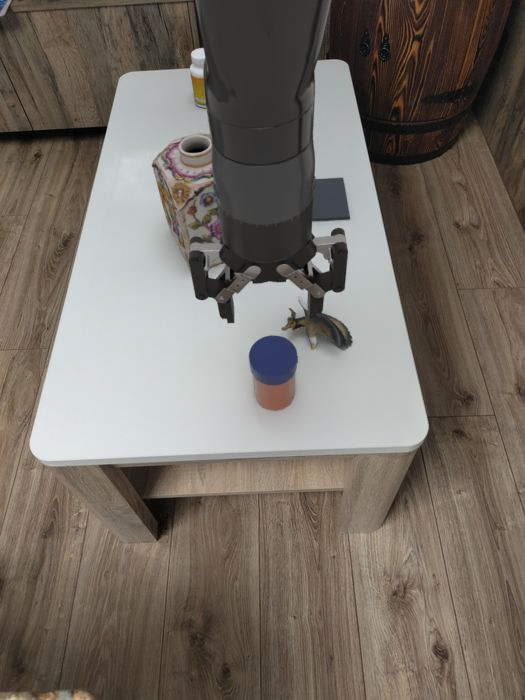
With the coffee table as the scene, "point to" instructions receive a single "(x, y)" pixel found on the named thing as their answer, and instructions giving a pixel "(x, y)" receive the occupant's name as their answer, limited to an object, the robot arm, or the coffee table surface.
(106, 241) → the coffee table surface
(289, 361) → the jar lid
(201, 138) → the decorative jar
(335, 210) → the coaster
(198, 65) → the supplement bottle
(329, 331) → the brown animal figure
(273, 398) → the jar
